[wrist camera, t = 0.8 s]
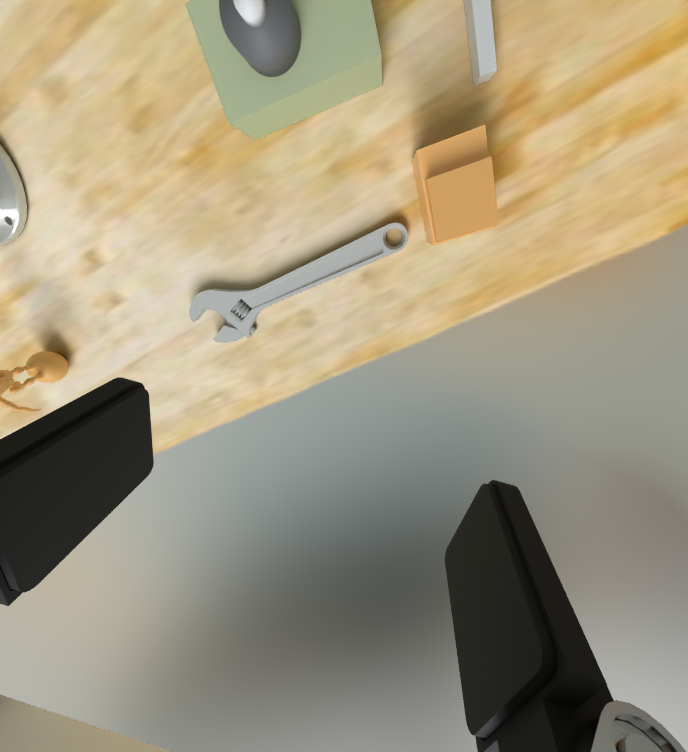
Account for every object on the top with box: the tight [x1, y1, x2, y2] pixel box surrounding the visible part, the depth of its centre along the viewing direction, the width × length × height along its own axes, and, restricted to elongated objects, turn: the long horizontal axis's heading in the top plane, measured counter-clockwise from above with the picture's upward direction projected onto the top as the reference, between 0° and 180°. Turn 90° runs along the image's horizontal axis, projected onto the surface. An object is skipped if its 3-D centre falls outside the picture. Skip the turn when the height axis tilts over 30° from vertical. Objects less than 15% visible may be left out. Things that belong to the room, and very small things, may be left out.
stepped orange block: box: [412, 125, 499, 245], centre depth 27 cm, size 5×7×6 cm
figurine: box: [0, 351, 68, 412], centre depth 37 cm, size 8×6×12 cm
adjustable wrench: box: [190, 223, 408, 343], centre depth 35 cm, size 25×6×2 cm, turn 109°
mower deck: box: [185, 0, 497, 140], centre depth 22 cm, size 20×11×10 cm, turn 107°
